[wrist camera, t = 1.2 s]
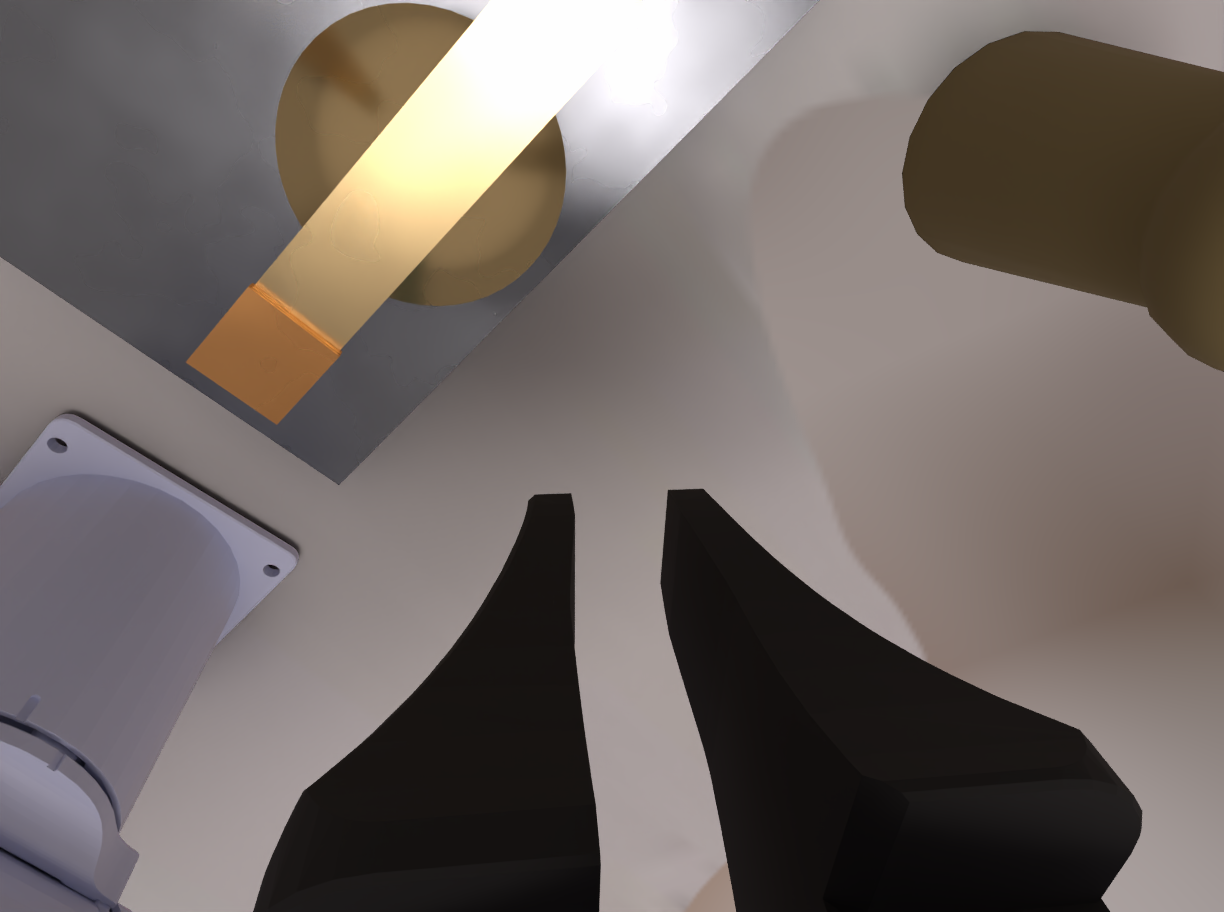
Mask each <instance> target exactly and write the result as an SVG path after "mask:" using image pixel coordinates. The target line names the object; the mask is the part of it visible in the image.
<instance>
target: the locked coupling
mask: <svg viewBox="0 0 1224 912" xmlns="http://www.w3.org/2000/svg"><path fill="white" fill-rule="evenodd" d="M648 12H649V10H648V9H647V7H646V6H645V5H644V4H643V2H642V1H641V0H491V1H490V2H489V4H488V5H487V6H486V7H485V8H484V10H483V11H482V12H481V13H480V15H479V16H478V17H477V18H476V19H475V20H473V19H471V18H468V17H466V16H464V15H461V14H459V13H456V12H453V11H451V10H447V9H443V8H439V7H436V6H432V5H425V4H416V3H388V4H383V5H378V6H373V7H368V8H365V9H362V10H360V11H357V12H354V13H351V14H349V15H347V16H345V17H343V18H342V19H340V20H338V21H336V22H335V23H333V24H331V25H330V26H329V27H328V28H326V29H325V30H324V31H323V32H321V33H320V34H319V35H318V36H316V37H315V38H314V40H313V41H312V42H311V43H310V44H309V45H308V46H307V47H306V49H305V50H304V51H303V52H302V53H301V55H300V57H299V58H298V60H297V61H296V63H295V64H294V66H293V67H292V69H291V71H290V74H289V76H288V78H287V80H286V83H285V85H284V87H283V91H282V94H281V98H280V101H279V105H278V111H277V118H276V126H275V148H276V155H277V163H278V169H279V173H280V177H281V181H282V185H283V188H284V191H285V193H286V196H287V198H288V201H289V203H290V206H291V208H292V210H293V212H294V214H295V216H296V217H297V219H298V221H299V223H300V225H301V226H302V229H301V230H300V231H299V232H298V234H297V235H296V236H295V237H294V238H293V240H292V241H291V242H290V243H289V244H288V246H287V247H286V248H285V249H284V250H283V252H282V253H281V254H280V255H279V256H278V258H277V259H276V260H275V261H274V262H273V264H272V265H271V266H270V267H269V268H268V270H267V271H266V272H265V273H264V274H263V276H262V277H261V278H260V279H259V281H258V282H257V283H256V284H254V283H252V284H251V285H250V286H248V288H247V289H246V290H245V291H244V292H243V294H242V295H241V296H240V297H239V298H238V300H237V301H236V302H235V303H234V304H233V306H232V307H231V308H230V309H229V311H228V312H227V313H226V314H225V315H224V317H223V318H222V319H221V320H220V321H219V323H218V324H217V325H216V326H215V327H214V329H213V330H212V331H211V332H210V333H209V335H208V336H207V337H206V338H205V339H204V341H203V342H202V343H201V344H200V346H199V347H198V348H197V349H196V350H195V352H194V353H193V354H192V355H191V356H190V358H189V359H188V360H187V361H186V363H187V364H189V365H190V366H192V367H193V368H195V369H196V370H198V371H199V372H200V373H202V374H203V375H205V376H206V377H208V378H209V379H211V380H212V381H214V382H215V383H216V384H218V385H219V386H221V387H222V388H224V389H225V390H227V391H228V392H230V393H231V394H233V395H234V396H235V397H237V398H238V399H240V400H241V401H243V402H244V403H246V404H247V405H249V406H250V407H251V408H253V409H254V410H256V411H257V412H259V413H260V414H262V415H263V416H265V417H266V418H267V419H269V420H270V421H272V422H273V423H275V424H276V425H277V424H278V423H279V422H280V421H281V420H282V419H283V418H284V417H285V415H286V414H287V413H288V412H289V411H290V410H291V409H292V408H293V407H294V406H295V405H296V403H297V402H298V401H299V400H300V399H301V398H302V397H303V396H304V395H305V394H306V393H307V391H308V390H309V389H310V388H311V387H312V386H313V385H314V384H315V383H316V382H317V381H318V379H319V378H320V377H321V376H322V375H323V374H324V373H325V372H326V371H327V370H328V369H329V367H330V366H331V365H332V364H333V363H334V362H335V361H336V360H337V359H338V358H339V356H340V355H341V353H342V351H341V349H342V347H343V346H344V345H345V344H346V343H347V342H348V341H349V340H350V339H351V338H352V337H353V335H354V334H355V333H356V332H357V331H358V330H359V329H360V328H361V327H362V326H363V324H364V323H365V322H366V321H367V320H368V319H369V318H370V317H371V316H372V315H373V314H374V312H375V311H376V310H377V309H378V308H379V307H380V306H381V305H382V304H383V303H384V301H385V300H386V299H387V298H388V297H389V298H392V299H396V300H399V301H402V302H406V303H412V304H418V305H427V306H447V305H458V304H463V303H468V302H472V301H475V300H478V299H481V298H484V297H487V296H489V295H491V294H493V293H495V292H497V291H499V290H501V289H503V288H505V287H506V286H508V285H509V284H510V283H512V282H513V281H515V280H516V279H517V278H519V277H520V276H521V275H522V274H523V273H524V272H525V271H526V270H527V269H529V267H530V266H531V265H532V264H533V263H534V262H535V260H536V259H537V258H538V257H539V256H540V254H541V253H542V251H543V249H544V248H545V246H546V245H547V243H548V242H549V240H550V238H551V236H552V233H553V231H554V229H555V227H556V225H557V221H558V218H559V215H560V212H561V209H562V204H563V199H564V193H565V182H566V162H565V150H564V145H563V139H562V134H561V130H560V127H559V124H558V121H557V118H556V113H557V112H558V111H559V110H560V109H561V108H562V107H563V105H564V104H565V103H566V102H567V101H568V100H569V99H570V98H571V97H572V96H573V94H574V93H575V92H576V91H577V90H578V89H579V88H580V87H581V86H582V85H583V84H584V82H585V81H586V80H587V79H588V78H589V77H590V76H591V75H592V74H593V73H594V71H595V70H596V69H597V68H598V67H599V66H600V65H601V64H602V63H603V62H604V61H605V59H606V58H607V57H608V56H609V55H610V54H611V53H612V52H613V51H614V50H615V48H616V47H617V46H618V45H619V44H620V43H621V42H622V41H623V40H624V39H625V38H626V36H627V35H628V34H629V33H630V32H631V31H632V30H633V29H634V28H635V27H636V25H637V24H638V23H639V22H640V21H641V20H642V19H643V18H644V17H645V16H646V15H647V13H648Z"/></svg>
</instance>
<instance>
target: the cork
mask: <svg viewBox="0 0 1224 912" xmlns="http://www.w3.org/2000/svg"><path fill="white" fill-rule="evenodd" d="M902 178H903V190H904V202H905V208H906V210H907V212H908V215H909V217H910V219H911V221H912V224H913V226H914V228H915V230H916V232H917V234H918V235H919V236H920V237H921V238H922V239H923V240H924V241H926V243H927V244H928V245H930V246H931V247H932V248H933V249H934V250H935V251H936V252H937V253H940V254H942V255H945V256H948V257H950V258H953V259H956V260H959V261H961V262H965V263H969V264H973V265H977V266H981V267H985V268H989V269H993V270H997V271H1001V272H1005V273H1009V274H1013V275H1017V276H1021V277H1026V278H1030V279H1034V280H1038V281H1042V282H1046V283H1050V284H1054V285H1058V286H1062V287H1066V288H1071V289H1074V290H1078V291H1082V292H1087V293H1091V294H1095V295H1099V296H1103V297H1107V298H1111V299H1115V300H1119V301H1123V302H1127V303H1132V304H1135V305H1140V306H1144V307H1147V308H1148V311H1149V315H1150V316H1151V317H1152V318H1153V320H1154V321H1155V322H1156V323H1157V324H1158V325H1159V326H1160V327H1161V328H1162V329H1163V330H1164V331H1165V332H1166V333H1167V335H1168V336H1169V337H1170V338H1171V339H1172V340H1173V341H1174V342H1175V343H1176V344H1178V346H1179V347H1180V348H1182V349H1183V351H1184V352H1186V353H1187V355H1189V356H1191V357H1193V358H1195V359H1197V360H1199V361H1201V362H1203V363H1205V364H1207V365H1209V366H1210V367H1213V368H1215V369H1218V370H1221V371H1223V372H1224V72H1221V71H1217V70H1213V69H1209V68H1204V67H1200V66H1196V65H1192V64H1188V63H1184V62H1180V61H1176V60H1171V59H1167V58H1163V57H1159V56H1155V55H1151V54H1147V53H1143V52H1139V51H1134V50H1130V49H1126V48H1122V47H1118V46H1114V45H1110V44H1106V43H1101V42H1097V41H1093V40H1089V39H1085V38H1081V37H1077V36H1073V35H1069V34H1064V33H1060V32H1030V31H1024V32H1021V33H1018V34H1015V35H1012V36H1010V37H1007V38H1004V39H1001V40H998V41H995V42H992V43H989V44H987V45H986V46H985V47H983V48H982V49H981V50H979V51H978V52H976V53H975V54H974V55H972V56H971V57H969V58H968V59H967V60H965V61H964V62H962V63H961V64H960V65H958V66H957V67H955V68H954V70H953V71H952V72H951V73H950V74H949V76H948V77H947V78H946V79H945V80H944V82H943V83H942V84H941V85H940V86H939V87H938V89H937V90H936V91H935V92H934V93H933V95H932V96H931V97H930V98H929V99H928V101H927V103H926V105H925V107H924V109H923V111H922V113H921V115H920V117H919V119H918V122H917V123H916V125H915V127H914V130H913V132H912V134H911V135H910V139H909V143H908V148H907V153H906V158H905V162H904V167H903V172H902Z"/></svg>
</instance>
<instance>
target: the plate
mask: <svg viewBox="0 0 1224 912" xmlns="http://www.w3.org/2000/svg"><path fill="white" fill-rule="evenodd" d="M490 1H491V0H0V257H1V258H3V259H4V260H6V261H7V262H9V263H10V264H12V265H13V266H15V267H16V268H18V269H19V270H21V271H22V272H24V273H25V274H27V275H28V276H30V277H31V278H33V279H34V280H36V281H37V282H39V283H40V284H42V285H43V286H44V287H46V288H47V289H49V290H50V291H52V292H53V293H55V294H56V295H58V296H59V297H61V298H62V299H64V300H65V301H67V302H68V303H70V304H71V305H73V306H74V307H76V308H77V309H79V310H80V311H82V312H83V313H85V314H86V315H88V316H89V317H90V318H92V319H93V320H95V321H96V322H98V323H99V324H101V325H102V326H104V327H105V328H107V329H108V330H110V331H111V332H113V333H114V334H116V335H117V336H119V337H120V338H122V339H123V340H125V341H126V342H128V343H129V344H131V345H132V346H133V347H135V348H136V349H138V350H139V351H141V352H142V353H144V354H145V355H147V356H148V357H150V358H151V359H153V360H154V361H156V362H157V363H159V364H160V365H162V366H163V367H165V368H166V369H168V370H169V371H171V372H172V373H174V374H175V375H176V376H178V377H179V378H181V379H182V380H184V381H185V382H187V383H188V384H190V385H191V386H193V387H194V388H196V389H197V390H199V391H200V392H202V393H203V394H205V395H206V396H208V397H209V398H211V399H212V400H214V401H215V402H217V403H218V404H220V405H221V406H222V407H224V408H225V409H227V410H228V411H230V412H231V413H233V414H234V415H236V416H237V417H239V418H240V419H242V420H243V421H245V422H246V423H248V424H249V425H251V426H252V427H254V428H255V429H257V430H258V431H260V432H261V433H263V434H264V435H265V436H267V437H268V438H270V439H271V440H273V441H274V442H276V443H277V444H279V445H280V446H282V447H283V448H285V449H286V450H288V451H289V452H291V453H292V454H294V455H295V456H297V457H298V458H300V459H301V460H303V461H304V462H306V463H307V464H308V465H310V466H311V467H313V468H314V469H316V470H317V471H319V472H320V473H322V474H323V475H325V476H326V477H328V478H329V479H331V480H332V481H334V482H335V483H337V484H338V485H339V484H340V483H341V482H342V481H343V480H344V479H345V478H346V477H347V476H348V475H349V474H350V473H351V472H352V471H353V470H354V469H355V468H356V467H357V466H358V465H359V464H360V463H361V462H362V461H363V460H364V459H365V458H366V457H367V456H368V455H369V454H370V453H371V452H372V451H373V450H374V449H375V448H376V447H377V446H378V445H379V444H380V443H381V442H382V441H383V440H384V439H385V438H386V437H387V436H388V435H389V434H390V433H391V432H392V431H393V430H394V429H395V428H396V427H397V426H398V425H399V424H400V423H401V422H402V421H403V420H404V419H405V418H406V417H407V416H408V415H409V414H410V413H411V412H412V411H413V410H414V409H415V408H416V407H417V406H418V405H419V404H420V403H421V402H422V401H423V400H424V399H425V398H426V397H427V396H428V395H429V394H430V393H431V392H432V391H433V390H434V389H435V388H436V387H437V386H438V385H439V384H440V383H441V382H442V381H443V380H444V379H445V378H446V377H447V376H448V374H449V373H450V372H451V371H452V370H453V369H454V368H455V367H456V366H457V365H458V364H459V363H460V362H461V361H462V360H463V359H464V358H465V357H466V356H467V355H468V354H469V353H470V352H471V351H472V350H473V349H474V348H475V347H476V346H477V345H478V344H479V343H480V342H481V341H482V340H483V339H484V338H485V337H486V336H487V335H488V334H489V333H490V332H491V331H492V330H493V329H494V328H495V327H496V326H497V325H498V324H499V323H500V322H501V321H502V320H503V319H504V318H505V317H506V316H507V315H508V314H509V313H510V312H511V311H512V310H513V309H514V308H515V307H516V306H517V305H518V304H519V303H520V302H521V301H522V300H523V299H524V298H525V297H526V296H527V295H528V294H529V293H530V292H531V291H532V290H533V289H534V288H535V287H536V286H537V285H538V284H539V283H540V282H541V281H542V280H543V279H544V278H545V277H546V276H547V275H548V274H549V273H550V272H551V271H552V270H553V269H554V268H555V267H556V266H557V265H558V264H559V263H560V262H561V261H562V260H563V258H564V257H565V256H566V255H567V254H568V253H569V252H570V251H571V250H572V249H573V248H574V247H575V246H576V245H577V244H578V243H579V242H580V241H581V240H582V239H583V238H584V237H585V236H586V235H587V234H588V233H589V232H590V231H591V230H592V229H593V228H594V227H595V226H596V225H597V224H598V223H599V222H600V221H601V220H602V219H603V218H604V217H605V216H606V215H607V214H608V213H609V212H610V211H611V210H612V209H613V208H614V207H615V206H616V205H617V204H618V203H619V202H620V201H621V200H622V199H623V198H624V197H625V196H626V195H627V194H628V193H629V192H630V191H631V190H632V189H633V188H634V187H635V186H636V185H637V184H638V183H639V182H640V181H641V180H642V179H643V178H644V177H645V176H646V175H647V174H648V173H649V172H650V171H651V170H652V169H653V168H654V167H655V166H656V165H657V164H658V163H659V162H660V161H661V160H662V159H663V158H664V157H665V156H666V155H667V154H668V153H669V152H670V151H671V150H672V149H673V148H674V147H675V146H676V145H677V144H678V142H679V141H680V140H681V139H682V138H683V137H684V136H685V135H686V134H687V133H688V132H689V131H690V130H691V129H692V128H693V127H694V126H695V125H696V124H697V123H698V122H699V121H700V120H701V119H702V118H703V117H704V116H705V115H706V114H707V113H708V112H709V111H710V110H711V109H712V108H713V107H714V106H715V105H716V104H717V103H718V102H719V101H720V100H721V99H722V98H723V97H724V96H725V95H726V94H727V93H728V92H729V91H730V90H731V89H732V88H733V87H734V86H735V85H736V84H737V83H738V82H739V81H740V80H741V79H742V78H743V77H744V76H745V75H746V74H747V73H748V72H749V71H750V70H751V69H752V68H753V67H754V66H755V65H756V64H757V63H758V62H759V61H760V60H761V59H762V58H763V57H764V56H765V55H766V54H767V53H768V52H769V51H770V50H771V49H772V48H773V47H774V46H775V45H776V44H777V43H778V42H779V41H780V40H781V39H782V38H783V37H784V36H785V35H786V34H787V33H788V32H789V31H790V30H791V29H792V28H793V26H794V25H795V24H796V23H797V22H798V21H799V20H800V19H801V18H802V17H803V16H804V15H805V14H806V13H807V12H808V11H809V10H810V9H811V8H812V7H813V6H814V5H815V4H816V3H817V2H818V1H819V0H641V1H642V2H643V4H644V5H645V6H646V7H647V9H648V10H649V12H648V13H647V15H646V16H645V17H644V18H643V19H642V20H641V21H640V22H639V23H638V24H637V25H636V27H635V28H634V29H633V30H632V31H631V32H630V33H629V34H628V35H627V36H626V38H625V39H624V40H623V41H622V42H621V43H620V44H619V45H618V46H617V47H616V48H615V50H614V51H613V52H612V53H611V54H610V55H609V56H608V57H607V58H606V59H605V61H604V62H603V63H602V64H601V65H600V66H599V67H598V68H597V69H596V70H595V71H594V73H593V74H592V75H591V76H590V77H589V78H588V79H587V80H586V81H585V82H584V84H583V85H582V86H581V87H580V88H579V89H578V90H577V91H576V92H575V93H574V94H573V96H572V97H571V98H570V99H569V100H568V101H567V102H566V103H565V104H564V105H563V107H562V108H561V109H560V110H559V111H558V112H557V113H556V118H557V121H558V124H559V127H560V130H561V134H562V139H563V145H564V150H565V162H566V182H565V193H564V199H563V204H562V209H561V212H560V215H559V218H558V221H557V225H556V227H555V229H554V231H553V233H552V236H551V238H550V240H549V242H548V243H547V245H546V246H545V248H544V249H543V251H542V253H541V254H540V256H539V257H538V258H537V259H536V260H535V262H534V263H533V264H532V265H531V266H530V267H529V269H527V270H526V271H525V272H524V273H523V274H522V275H521V276H520V277H519V278H517V279H516V280H515V281H513V282H512V283H510V284H509V285H508V286H506V287H505V288H503V289H501V290H499V291H497V292H495V293H493V294H491V295H489V296H487V297H484V298H481V299H478V300H475V301H472V302H468V303H463V304H458V305H447V306H427V305H418V304H412V303H406V302H402V301H399V300H396V299H392V298H389V297H388V298H387V299H386V300H385V301H384V303H383V304H382V305H381V306H380V307H379V308H378V309H377V310H376V311H375V312H374V314H373V315H372V316H371V317H370V318H369V319H368V320H367V321H366V322H365V323H364V324H363V326H362V327H361V328H360V329H359V330H358V331H357V332H356V333H355V334H354V335H353V337H352V338H351V339H350V340H349V341H348V342H347V343H346V344H345V345H344V346H343V347H342V349H341V351H342V353H341V355H340V356H339V358H338V359H337V360H336V361H335V362H334V363H333V364H332V365H331V366H330V367H329V369H328V370H327V371H326V372H325V373H324V374H323V375H322V376H321V377H320V378H319V379H318V381H317V382H316V383H315V384H314V385H313V386H312V387H311V388H310V389H309V390H308V391H307V393H306V394H305V395H304V396H303V397H302V398H301V399H300V400H299V401H298V402H297V403H296V405H295V406H294V407H293V408H292V409H291V410H290V411H289V412H288V413H287V414H286V415H285V417H284V418H283V419H282V420H281V421H280V422H279V423H278V424H277V425H276V424H275V423H273V422H272V421H270V420H269V419H267V418H266V417H265V416H263V415H262V414H260V413H259V412H257V411H256V410H254V409H253V408H251V407H250V406H249V405H247V404H246V403H244V402H243V401H241V400H240V399H238V398H237V397H235V396H234V395H233V394H231V393H230V392H228V391H227V390H225V389H224V388H222V387H221V386H219V385H218V384H216V383H215V382H214V381H212V380H211V379H209V378H208V377H206V376H205V375H203V374H202V373H200V372H199V371H198V370H196V369H195V368H193V367H192V366H190V365H189V364H187V363H186V361H187V360H188V359H189V358H190V356H191V355H192V354H193V353H194V352H195V350H196V349H197V348H198V347H199V346H200V344H201V343H202V342H203V341H204V339H205V338H206V337H207V336H208V335H209V333H210V332H211V331H212V330H213V329H214V327H215V326H216V325H217V324H218V323H219V321H220V320H221V319H222V318H223V317H224V315H225V314H226V313H227V312H228V311H229V309H230V308H231V307H232V306H233V304H234V303H235V302H236V301H237V300H238V298H239V297H240V296H241V295H242V294H243V292H244V291H245V290H246V289H247V288H248V286H250V285H251V284H252V283H254V284H256V283H257V282H258V281H259V279H260V278H261V277H262V276H263V274H264V273H265V272H266V271H267V270H268V268H269V267H270V266H271V265H272V264H273V262H274V261H275V260H276V259H277V258H278V256H279V255H280V254H281V253H282V252H283V250H284V249H285V248H286V247H287V246H288V244H289V243H290V242H291V241H292V240H293V238H294V237H295V236H296V235H297V234H298V232H299V231H300V230H301V229H302V226H301V225H300V223H299V221H298V219H297V217H296V216H295V214H294V212H293V210H292V208H291V206H290V203H289V201H288V198H287V196H286V193H285V191H284V188H283V185H282V181H281V177H280V173H279V169H278V163H277V155H276V148H275V126H276V118H277V111H278V105H279V101H280V98H281V94H282V91H283V87H284V85H285V83H286V80H287V78H288V76H289V74H290V71H291V69H292V67H293V66H294V64H295V63H296V61H297V60H298V58H299V57H300V55H301V53H302V52H303V51H304V50H305V49H306V47H307V46H308V45H309V44H310V43H311V42H312V41H313V40H314V38H315V37H316V36H318V35H319V34H320V33H321V32H323V31H324V30H325V29H326V28H328V27H329V26H330V25H331V24H333V23H335V22H336V21H338V20H340V19H342V18H343V17H345V16H347V15H349V14H351V13H354V12H357V11H360V10H362V9H365V8H368V7H373V6H378V5H383V4H388V3H416V4H425V5H432V6H436V7H439V8H443V9H447V10H451V11H453V12H456V13H459V14H461V15H464V16H466V17H468V18H471V19H473V20H475V19H476V18H477V17H478V16H479V15H480V13H481V12H482V11H483V10H484V8H485V7H486V6H487V5H488V4H489V2H490Z"/></svg>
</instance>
